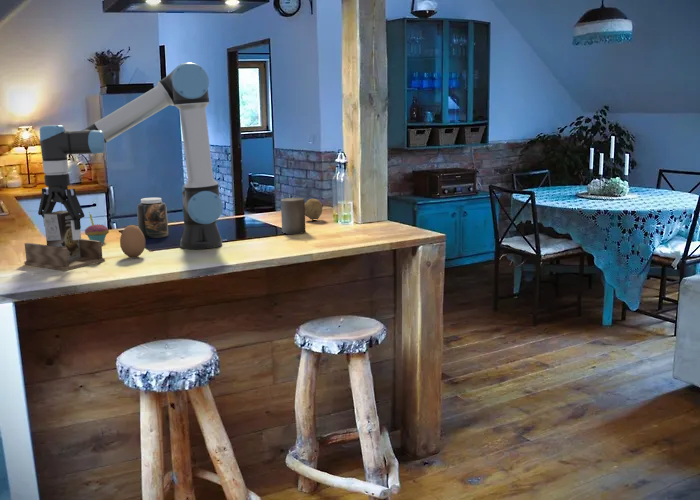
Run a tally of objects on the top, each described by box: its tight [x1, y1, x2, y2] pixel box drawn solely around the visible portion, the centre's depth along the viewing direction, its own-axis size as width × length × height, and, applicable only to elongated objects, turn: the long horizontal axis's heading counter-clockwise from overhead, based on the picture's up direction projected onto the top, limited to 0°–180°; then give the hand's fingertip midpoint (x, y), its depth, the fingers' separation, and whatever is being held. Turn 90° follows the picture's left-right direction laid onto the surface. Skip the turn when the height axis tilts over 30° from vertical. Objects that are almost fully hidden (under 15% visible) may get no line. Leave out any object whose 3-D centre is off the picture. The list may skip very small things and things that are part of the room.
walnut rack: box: [23, 238, 105, 272], centre depth 234 cm, size 20×16×7 cm
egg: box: [119, 224, 146, 259], centre depth 241 cm, size 8×8×11 cm
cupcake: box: [84, 212, 110, 244], centre depth 269 cm, size 9×8×12 cm
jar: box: [136, 197, 169, 239], centre depth 282 cm, size 12×12×15 cm
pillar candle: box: [280, 196, 306, 235], centre depth 286 cm, size 10×10×15 cm
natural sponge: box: [305, 198, 323, 220], centre depth 316 cm, size 9×9×10 cm
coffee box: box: [44, 209, 80, 261], centre depth 233 cm, size 9×6×16 cm
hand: (63, 238), depth 233 cm, fingers open, 13 cm apart
